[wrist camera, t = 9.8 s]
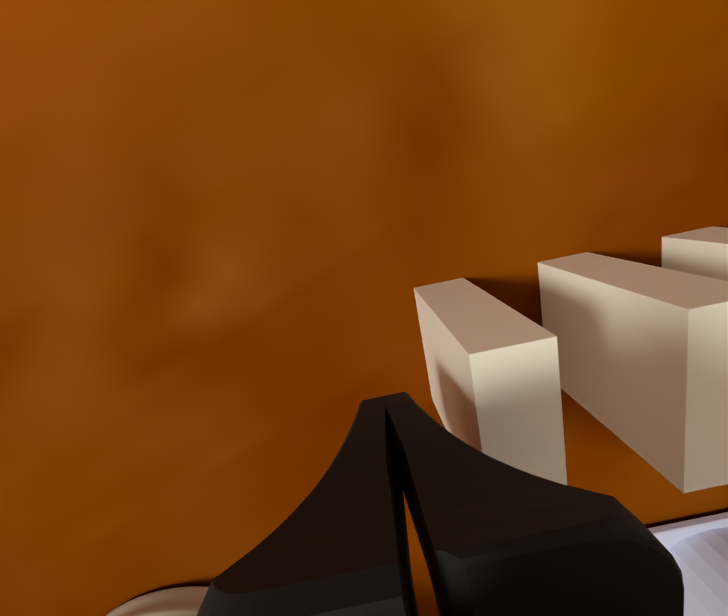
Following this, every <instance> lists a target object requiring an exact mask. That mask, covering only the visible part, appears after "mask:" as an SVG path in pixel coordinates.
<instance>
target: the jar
mask: <svg viewBox="0 0 728 616" xmlns="http://www.w3.org/2000/svg"><path fill="white" fill-rule="evenodd" d="M208 589H209V587H201V586H193V587H179V588H171V589H165V590H161V591H156V592H153V593H149V594H146V595H143V596H140V597H137V598H135V599H133V600H130V601H128V602H126V603H124V604H122V605H121V606H119V607H117V608H116V609H114V610H112V611H111V612H110V613H108V614H107V615H106V616H197V613H198V610H199V608H200V606H201V604H202V602H203V599H204V597H205V595H206V593H207V591H208Z"/></svg>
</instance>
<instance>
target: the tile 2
mask: <svg viewBox="0 0 728 616" xmlns="http://www.w3.org/2000/svg"><path fill="white" fill-rule="evenodd" d="M538 272H539V285H540V298H541V311H542V323H543V328H544V329H546V330H548V331H549V332H551V333H552V334H554V335H556V336H557V344H558V358H559V373H560V388H561V389H562V390H564V391H565V392H566V393H567V394H568V395H569V396H571V397H572V398H573V399H574V400H575V401H576V402H578V403H579V404H580V405H581V406H582V407H583V408H585V409H586V410H587V411H588V412H589V413H590V414H592V415H593V416H594V417H595V418H596V419H597V420H599V421H600V422H601V423H602V424H603V425H604V426H606V427H607V428H608V429H609V430H610V431H611V432H613V433H614V434H615V435H616V436H617V437H618V438H620V439H621V440H622V441H623V442H624V443H625V444H627V445H628V446H629V447H630V448H631V449H632V450H634V451H635V452H636V453H637V454H638V455H640V456H641V457H642V458H643V459H644V460H645V461H647V462H648V463H649V464H650V465H651V466H652V467H654V468H655V469H656V470H657V471H658V472H659V473H661V474H662V475H663V476H664V477H665V478H666V479H668V480H669V481H670V482H671V483H672V484H673V485H675V486H676V487H677V488H678V489H679V490H680V491H682V492H683V493H687V492H692V491H696V490H701V489H706V488H711V487H716V486H721V485H726V484H728V281H725V280H720V279H715V278H710V277H705V276H700V275H695V274H691V273H686V272H681V271H676V270H671V269H666V268H662V267H657V266H652V265H647V264H642V263H637V262H633V261H628V260H623V259H618V258H613V257H608V256H604V255H599V254H594V253H589V252H586V253H581V254H576V255H571V256H566V257H561V258H557V259H552V260H547V261H542V262H538Z"/></svg>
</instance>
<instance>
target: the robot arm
mask: <svg viewBox="0 0 728 616" xmlns="http://www.w3.org/2000/svg"><path fill="white" fill-rule="evenodd" d="M403 491H404V495H405V498H406V501H407V504H408V507H409V510H410V513H411V517H412V520H413V523H414V526H415V529H416V532H417V535H418V538H419V542H420V545H421V548H422V551H423V554H424V557H425V560H426V563H427V567H428V570H429V574H430V578H431V581H432V585H433V590H434V594H435V598H436V603H437V607H438V611H439V616H728V512H725V513H720V514H715V515H710V516H706V517H701V518H696V519H691V520H686V521H681V522H676V523H671V524H667V525H662V526H657V527H652V528H647V527H646V526H645V525H644V524H643V523H642V522H641V521H640V520H639V519H638V518H636V517H635V516H634V515H633V514H632V513H631V512H630V511H629V510H627V509H626V508H625V507H624V506H623V505H622V504H621V503H620V502H619V501H618V500H617V499H616V498H614V497H613V496H609V495H605V494H600V493H596V492H592V491H588V490H584V489H580V488H576V487H572V486H567V485H564V484H560V483H557V482H554V481H551V480H548V479H545V478H542V477H539V476H535V475H533V474H530V473H527V472H525V471H522V470H519V469H517V468H514V467H512V466H510V465H508V464H505V463H503V462H501V461H498V460H496V459H494V458H492V457H490V456H488V455H486V454H484V453H482V452H480V451H479V450H477V449H475V448H473V447H471V446H470V445H468V444H466V443H465V442H463V441H462V440H460V439H459V438H457V437H456V436H454V435H453V434H452V433H450V432H449V431H448V430H446V429H445V428H444V427H442V426H441V425H440V424H439V423H437V422H436V421H435V420H434V419H433V418H431V417H430V416H429V415H428V414H427V413H426V412H425V411H424V410H423V409H422V408H421V407H419V406H418V405H417V404H416V403H415V401H414V400H413V399H412V398H411V397H410V396H409V395H408V394H407V393H405V392H401V393H397V394H392V395H387V396H382V397H377V398H373V399H368V400H363V401H362V402H361V404H360V405H359V409H358V412H357V414H356V417H355V419H354V422H353V424H352V427H351V429H350V431H349V433H348V435H347V437H346V439H345V441H344V443H343V445H342V447H341V449H340V450H339V452H338V454H337V455H336V457H335V459H334V461H333V462H332V464H331V466H330V467H329V469H328V470H327V472H326V473H325V475H324V476H323V477H322V479H321V480H320V482H319V483H318V484H317V486H316V487H315V488H314V490H313V491H312V492H311V493H310V494H309V495H308V496H307V497H306V499H305V500H304V501H303V502H302V503H301V504H300V505H299V506H298V508H297V509H296V510H295V511H294V512H293V513H292V514H291V515H290V516H289V517H288V518H287V519H286V520H285V521H284V522H283V523H282V524H281V525H280V526H279V527H278V528H277V529H276V530H274V531H273V532H272V533H271V534H270V535H269V536H268V537H267V538H266V539H264V540H263V541H262V542H261V543H260V544H259V545H257V546H256V547H255V548H254V549H253V550H251V551H250V552H249V553H247V554H246V555H245V556H244V557H242V558H241V559H240V560H238V561H237V562H236V563H234V564H233V565H232V566H231V567H229V568H228V569H227V570H225V571H224V572H223V573H221V574H220V575H219V576H217V577H216V578H214V579H213V580H212V581H211V584H210V586H209V589H208V591H207V593H206V595H205V597H204V599H203V602H202V604H201V606H200V608H199V610H198V613H197V616H419V614H418V609H417V603H416V598H415V593H414V587H413V580H412V573H411V565H410V555H409V545H408V535H407V525H406V515H405V505H404V496H403Z"/></svg>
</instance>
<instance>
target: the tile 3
mask: <svg viewBox="0 0 728 616" xmlns="http://www.w3.org/2000/svg"><path fill="white" fill-rule="evenodd" d="M662 268H666V269H671V270H676V271H681V272H686V273H691V274H695V275H700V276H705V277H710V278H715V279H720V280H725V281H728V228H725V227H707V228H702V229H697V230H693V231H688V232H683V233H678V234H673V235H668V236H663V237H662Z"/></svg>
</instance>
